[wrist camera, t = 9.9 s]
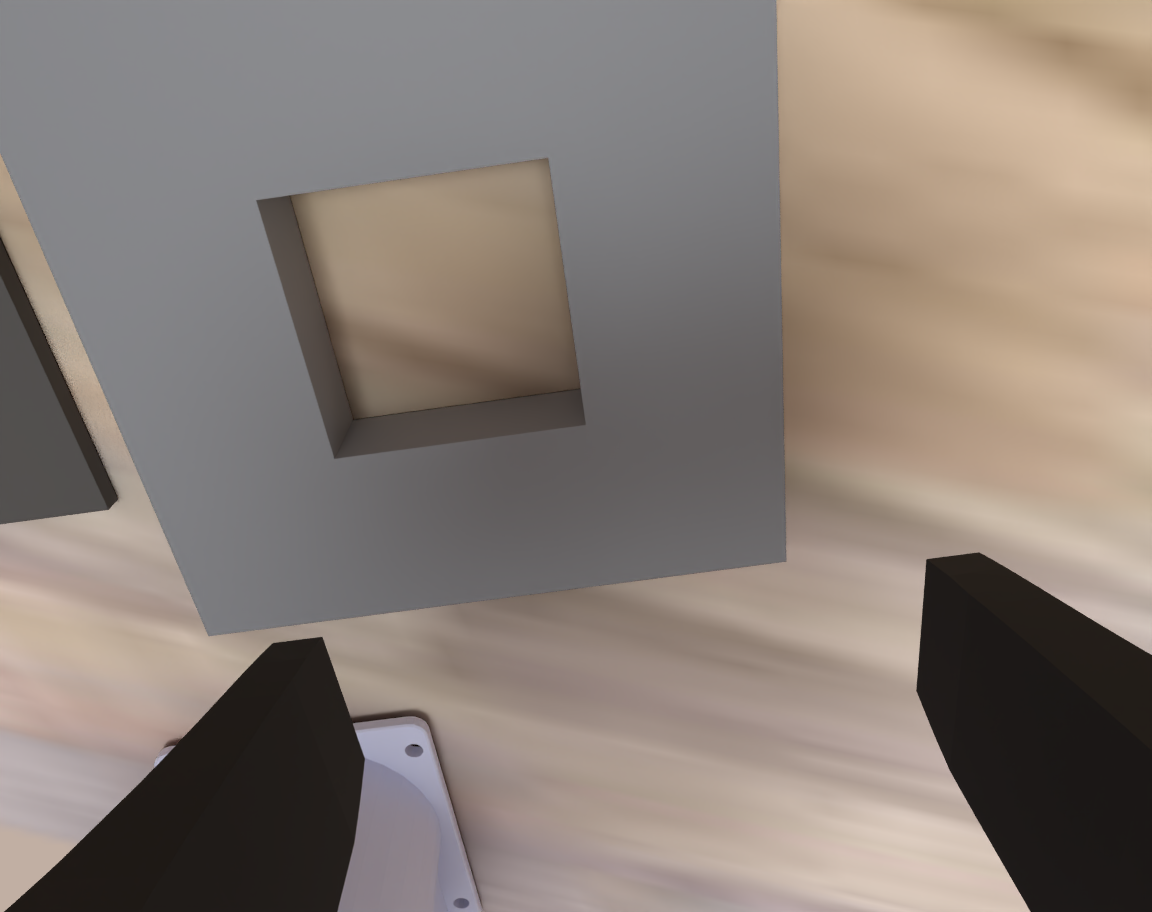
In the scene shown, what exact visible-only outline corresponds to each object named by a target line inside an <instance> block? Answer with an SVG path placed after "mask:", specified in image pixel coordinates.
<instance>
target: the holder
mask: <svg viewBox="0 0 1152 912" xmlns="http://www.w3.org/2000/svg"><path fill="white" fill-rule="evenodd" d="M0 154H1V156H2V158H3V161H4V163H5V165H6V167H7V170H8V172H9V174H10V177H11V179H12V181H13V184H14V186H15V188H16V191H17V193H18V195H19V198H20V200H21V202H22V205H23V207H24V209H25V212H26V214H27V216H28V219H29V221H30V223H31V225H32V228H33V230H34V232H35V235H36V237H37V239H38V242H39V244H40V246H41V249H42V251H43V253H44V256H45V258H46V260H47V263H48V265H49V267H50V270H51V272H52V274H53V276H54V279H55V281H56V283H57V286H58V288H59V290H60V293H61V295H62V297H63V300H64V302H65V304H66V307H67V309H68V311H69V314H70V316H71V318H72V321H73V323H74V325H75V327H76V330H77V332H78V334H79V337H80V339H81V341H82V344H83V346H84V348H85V351H86V353H87V355H88V358H89V360H90V362H91V365H92V367H93V369H94V372H95V374H96V376H97V378H98V381H99V383H100V385H101V388H102V390H103V392H104V395H105V397H106V399H107V402H108V404H109V406H110V409H111V411H112V413H113V416H114V418H115V420H116V423H117V425H118V427H119V429H120V432H121V434H122V436H123V439H124V441H125V443H126V446H127V448H128V450H129V453H130V455H131V457H132V460H133V462H134V464H135V467H136V469H137V471H138V474H139V476H140V478H141V481H142V483H143V485H144V487H145V490H146V492H147V494H148V497H149V499H150V501H151V504H152V506H153V508H154V511H155V513H156V515H157V518H158V520H159V522H160V525H161V527H162V529H163V532H164V534H165V536H166V538H167V541H168V543H169V545H170V548H171V550H172V552H173V555H174V557H175V559H176V562H177V564H178V566H179V569H180V571H181V573H182V576H183V578H184V580H185V583H186V585H187V587H188V589H189V592H190V594H191V596H192V599H193V601H194V603H195V606H196V608H197V610H198V613H199V615H200V617H201V620H202V622H203V624H204V627H205V629H206V631H207V634H208V636H214V635H221V634H229V633H237V632H245V631H252V630H260V629H268V628H276V627H283V626H291V625H299V624H307V623H314V622H322V621H330V620H338V619H345V618H353V617H361V616H369V615H376V614H384V613H392V612H400V611H407V610H415V609H423V608H430V607H438V606H446V605H454V604H461V603H469V602H477V601H485V600H492V599H500V598H508V597H516V596H523V595H531V594H539V593H547V592H554V591H562V590H570V589H578V588H585V587H593V586H601V585H609V584H616V583H624V582H632V581H640V580H647V579H655V578H663V577H671V576H678V575H686V574H694V573H702V572H709V571H717V570H725V569H733V568H740V567H748V566H756V565H764V564H771V563H779V562H786V516H785V461H784V405H783V350H782V294H781V239H780V183H779V128H778V72H777V17H776V0H0ZM544 158H548V160H549V167H550V174H551V181H552V188H553V195H554V202H555V209H556V216H557V223H558V231H559V238H560V245H561V252H562V259H563V266H564V273H565V280H566V287H567V294H568V302H569V309H570V316H571V323H572V330H573V337H574V344H575V351H576V358H577V365H578V373H579V380H580V387H581V389H577V390H570V391H562V392H555V393H548V394H540V395H533V396H526V397H518V398H511V399H504V400H496V401H489V402H482V403H474V404H467V405H460V406H452V407H445V408H438V409H430V410H423V411H416V412H408V413H401V414H394V415H386V416H379V417H372V418H364V419H357V420H353V417H352V414H351V410H350V407H349V403H348V400H347V396H346V393H345V389H344V386H343V382H342V379H341V375H340V372H339V368H338V365H337V361H336V358H335V354H334V351H333V347H332V344H331V340H330V337H329V333H328V330H327V326H326V322H325V319H324V315H323V312H322V308H321V305H320V301H319V298H318V294H317V291H316V287H315V284H314V280H313V277H312V273H311V270H310V266H309V263H308V259H307V256H306V252H305V249H304V245H303V242H302V238H301V235H300V231H299V227H298V224H297V220H296V217H295V213H294V210H293V206H292V203H291V199H290V196H289V195H295V194H302V193H309V192H316V191H323V190H330V189H337V188H344V187H351V186H358V185H364V184H371V183H378V182H385V181H392V180H399V179H406V178H413V177H420V176H427V175H433V174H440V173H447V172H454V171H461V170H468V169H475V168H482V167H489V166H496V165H502V164H509V163H516V162H523V161H530V160H537V159H544Z"/></svg>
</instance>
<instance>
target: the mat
mask: <svg viewBox="0 0 1152 912" xmlns="http://www.w3.org/2000/svg"><path fill="white" fill-rule="evenodd" d="M117 500H118V498H117V496H116V494H115V492H114V490H113V487H112V485H111V483H110V481H109V479H108V476H107V474H106V472H105V470H104V467H103V465H102V463H101V461H100V459H99V456H98V454H97V452H96V450H95V448H94V445H93V443H92V441H91V439H90V436H89V434H88V432H87V430H86V428H85V425H84V423H83V421H82V419H81V417H80V414H79V412H78V410H77V408H76V405H75V403H74V401H73V399H72V397H71V394H70V392H69V390H68V388H67V386H66V383H65V381H64V379H63V377H62V375H61V372H60V370H59V368H58V366H57V363H56V361H55V359H54V357H53V355H52V352H51V350H50V348H49V346H48V344H47V341H46V339H45V337H44V335H43V332H42V330H41V328H40V326H39V324H38V321H37V319H36V317H35V315H34V313H33V310H32V308H31V306H30V304H29V301H28V299H27V297H26V295H25V293H24V290H23V288H22V286H21V284H20V282H19V279H18V277H17V275H16V273H15V270H14V268H13V266H12V264H11V262H10V259H9V257H8V255H7V253H6V251H5V248H4V246H3V244H2V242H1V240H0V524H6V523H13V522H21V521H28V520H35V519H43V518H50V517H58V516H65V515H73V514H80V513H88V512H95V511H102V510H109V509H110V507H111V506H112V505H113V504H114V503H115V502H116V501H117Z"/></svg>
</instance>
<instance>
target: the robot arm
mask: <svg viewBox="0 0 1152 912" xmlns="http://www.w3.org/2000/svg"><path fill="white" fill-rule="evenodd" d="M916 691H917V693H918V696H919V698H920V701H921V703H922V706H923V708H924V711H925V713H926V716H927V718H928V720H929V723H930V725H931V728H932V730H933V733H934V735H935V737H936V740H937V742H938V744H939V747H940V749H941V751H942V754H943V756H944V758H945V760H946V763H947V765H948V767H949V770H950V771H951V773H952V775H953V777H954V779H955V780H956V782H957V784H958V786H959V788H960V789H961V791H962V793H963V795H964V797H965V798H966V800H967V802H968V804H969V805H970V807H971V809H972V811H973V812H974V814H975V816H976V818H977V819H978V821H979V823H980V825H981V826H982V828H983V830H984V832H985V833H986V835H987V837H988V839H989V840H990V842H991V844H992V846H993V847H994V849H995V851H996V853H997V854H998V856H999V858H1000V859H1001V861H1002V863H1003V865H1004V866H1005V868H1006V870H1007V872H1008V873H1009V875H1010V877H1011V878H1012V880H1013V882H1014V884H1015V885H1016V887H1017V889H1018V891H1019V892H1020V894H1021V896H1022V897H1023V899H1024V901H1025V903H1026V904H1027V906H1028V908H1029V910H1030V911H1031V912H1152V655H1151V654H1149V653H1147V652H1145V651H1144V650H1142V649H1140V648H1139V647H1137V646H1135V645H1133V644H1132V643H1130V642H1128V641H1127V640H1125V639H1123V638H1122V637H1120V636H1118V635H1116V634H1115V633H1113V632H1111V631H1110V630H1108V629H1106V628H1105V627H1103V626H1101V625H1100V624H1098V623H1096V622H1095V621H1093V620H1091V619H1090V618H1088V617H1086V616H1085V615H1083V614H1082V613H1080V612H1078V611H1077V610H1075V609H1073V608H1072V607H1070V606H1068V605H1067V604H1065V603H1063V602H1062V601H1060V600H1059V599H1057V598H1055V597H1054V596H1052V595H1050V594H1049V593H1047V592H1045V591H1044V590H1042V589H1041V588H1039V587H1037V586H1036V585H1034V584H1032V583H1031V582H1029V581H1027V580H1026V579H1024V578H1022V577H1021V576H1019V575H1017V574H1016V573H1014V572H1012V571H1011V570H1009V569H1007V568H1006V567H1004V566H1002V565H1001V564H999V563H997V562H995V561H994V560H992V559H990V558H988V557H986V556H985V555H983V554H981V553H972V554H964V555H956V556H948V557H940V558H933V559H927V560H926V573H925V586H924V599H923V612H922V625H921V638H920V651H919V664H918V677H917V690H916ZM411 744H417V745H419V747H414V746H411ZM154 766H155V768H154V769H153V770H152V771H151V772H150V773H149V774H148V775H147V776H146V777H145V778H144V779H143V780H142V781H141V782H140V783H139V784H138V785H137V786H136V787H135V788H134V789H133V790H132V791H131V792H130V793H129V794H128V795H127V796H126V797H125V798H124V799H123V800H122V801H121V802H120V803H119V804H118V805H117V806H116V807H115V808H114V809H113V810H112V811H111V812H110V813H109V814H108V815H107V816H106V817H105V818H104V819H103V820H102V821H101V822H100V823H99V824H98V825H97V826H96V827H95V828H93V829H92V830H91V831H90V832H89V833H88V834H87V835H86V836H85V837H84V838H83V839H82V840H81V841H80V842H79V843H78V844H77V845H76V846H75V847H74V848H73V849H72V850H71V851H70V852H69V853H68V854H67V855H66V856H65V857H64V858H63V859H62V860H61V861H60V862H59V863H58V864H57V865H55V866H54V867H53V868H52V869H51V870H50V871H49V872H48V873H47V874H46V875H45V876H43V877H42V878H41V879H40V880H39V881H38V882H37V883H36V884H35V885H34V886H32V887H31V888H30V889H29V890H28V891H27V892H26V893H25V894H24V895H22V896H21V897H20V898H19V899H18V900H17V901H16V902H15V903H14V904H12V905H11V906H10V907H9V908H8V909H7V910H6V911H4V912H483V910H482V907H481V903H480V900H479V896H478V893H477V889H476V886H475V883H474V879H473V876H472V872H471V869H470V866H469V862H468V859H467V855H466V852H465V849H464V845H463V842H462V838H461V835H460V831H459V828H458V825H457V821H456V818H455V814H454V811H453V808H452V804H451V801H450V797H449V794H448V791H447V787H446V784H445V780H444V777H443V773H442V770H441V767H440V763H439V760H438V756H437V753H436V750H435V746H434V743H433V739H432V736H431V733H430V729H429V726H428V725H427V723H426V722H425V721H424V720H422V719H421V718H418V717H413V716H407V717H399V718H391V719H383V720H375V721H367V722H359V723H352V720H351V717H350V715H349V712H348V709H347V706H346V703H345V700H344V697H343V695H342V692H341V689H340V686H339V683H338V680H337V677H336V675H335V672H334V669H333V666H332V663H331V660H330V657H329V655H328V652H327V649H326V646H325V643H324V640H323V637H318V638H310V639H302V640H294V641H287V642H279V643H273V644H271V645H270V646H269V647H268V648H267V649H266V650H265V651H264V652H263V653H262V654H261V655H260V656H259V657H258V658H257V659H256V660H255V661H254V662H253V664H252V665H251V666H250V667H249V668H248V669H247V670H246V671H245V672H244V673H243V674H242V675H241V676H240V677H239V678H238V679H237V681H236V682H235V683H234V684H233V685H232V686H231V687H230V688H229V689H228V690H227V691H226V692H225V693H224V695H223V696H222V697H221V698H220V699H219V700H218V701H217V702H216V703H215V704H214V705H213V706H212V707H211V709H210V710H209V711H208V712H207V713H206V714H205V715H204V716H203V717H202V718H201V719H200V720H199V722H198V723H197V724H196V725H195V726H194V727H193V728H192V729H191V730H190V731H189V732H188V733H187V734H186V735H185V736H184V737H183V738H182V739H181V740H180V742H179V743H178V744H177V745H176V746H169V747H166V748H163V749H162V750H161V751H160V752H159V754H158V756H157V758H156V760H155V763H154Z"/></svg>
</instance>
